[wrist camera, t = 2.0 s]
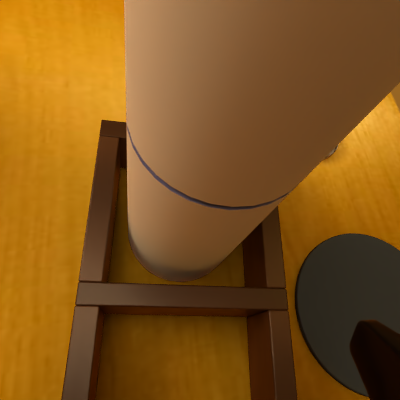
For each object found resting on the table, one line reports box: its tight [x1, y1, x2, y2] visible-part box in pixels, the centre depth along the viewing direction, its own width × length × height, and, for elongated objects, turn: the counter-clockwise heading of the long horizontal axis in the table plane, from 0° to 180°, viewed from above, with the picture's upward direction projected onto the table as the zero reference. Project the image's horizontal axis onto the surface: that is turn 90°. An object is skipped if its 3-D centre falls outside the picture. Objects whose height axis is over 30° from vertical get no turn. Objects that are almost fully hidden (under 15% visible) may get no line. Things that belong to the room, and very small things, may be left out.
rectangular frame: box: [61, 120, 297, 400], centre depth 20 cm, size 22×11×4 cm, turn 0°
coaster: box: [295, 234, 400, 397], centre depth 24 cm, size 11×11×1 cm
